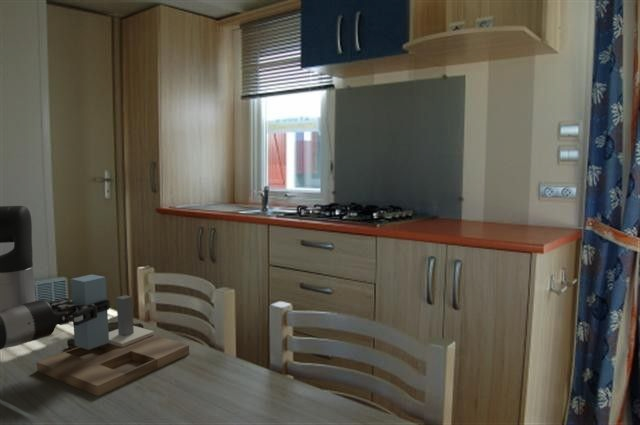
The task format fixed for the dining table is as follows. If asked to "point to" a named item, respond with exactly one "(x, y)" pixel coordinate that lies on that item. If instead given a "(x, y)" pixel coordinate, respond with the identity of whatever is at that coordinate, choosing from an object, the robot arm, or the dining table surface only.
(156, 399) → the dining table surface
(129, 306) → the lid
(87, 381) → the board
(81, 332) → the block
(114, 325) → the stone
